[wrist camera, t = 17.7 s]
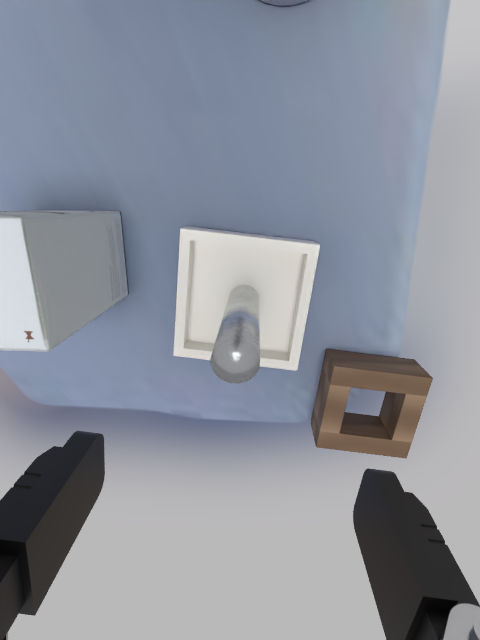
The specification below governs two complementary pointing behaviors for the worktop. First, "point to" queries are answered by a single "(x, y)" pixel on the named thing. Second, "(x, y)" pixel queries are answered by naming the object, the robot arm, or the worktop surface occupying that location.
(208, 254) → the tray
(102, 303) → the supplement box
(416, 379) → the bore block
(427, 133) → the worktop surface
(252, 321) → the cylinder
